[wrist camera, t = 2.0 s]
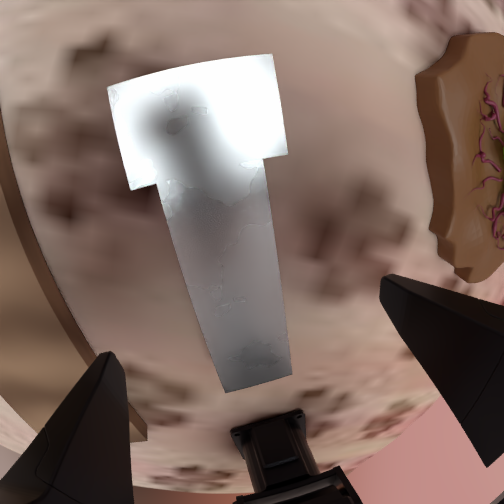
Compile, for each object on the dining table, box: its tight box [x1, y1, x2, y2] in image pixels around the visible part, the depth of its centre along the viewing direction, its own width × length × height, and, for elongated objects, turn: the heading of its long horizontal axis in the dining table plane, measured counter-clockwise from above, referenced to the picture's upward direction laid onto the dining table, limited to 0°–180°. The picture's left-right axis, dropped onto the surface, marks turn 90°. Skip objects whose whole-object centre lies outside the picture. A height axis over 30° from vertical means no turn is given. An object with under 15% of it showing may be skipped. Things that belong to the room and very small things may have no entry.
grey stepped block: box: [107, 54, 292, 393], centre depth 14 cm, size 16×6×3 cm, turn 9°
